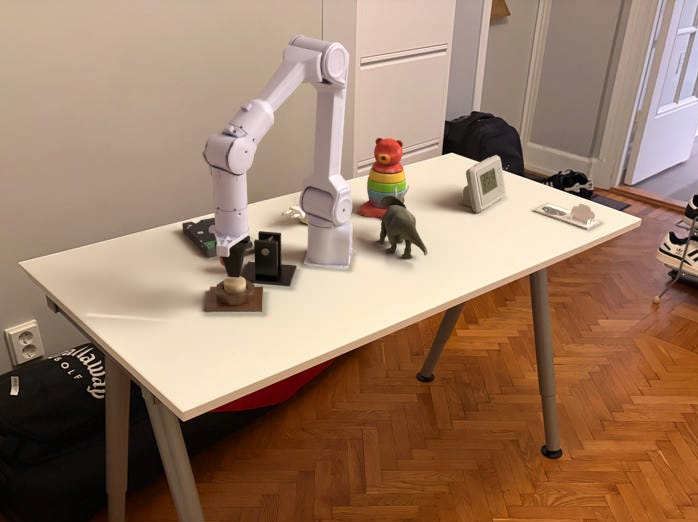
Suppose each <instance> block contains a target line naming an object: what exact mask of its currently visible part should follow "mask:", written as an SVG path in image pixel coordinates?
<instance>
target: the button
mask: <svg viewBox="0 0 698 522" xmlns="http://www.w3.org/2000/svg"><path fill="white" fill-rule="evenodd" d="M223 281H224V290H225V292H229V293H240V292H244V291H245V290H246V280H245V278H243V277H241V276H240V277H239V278H236V277H228V276H227V277H225V278H224V279H223Z"/></svg>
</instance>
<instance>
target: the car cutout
mask: <svg viewBox="0 0 698 522" xmlns="http://www.w3.org/2000/svg"><path fill="white" fill-rule="evenodd" d="M533 212H535V213H538V214H539V215H540V214H541V215H543V216H547V217H550V218H553V219H555V220H558V221H559V222H563V223H566V224H569V225H572V226H574V227H578V228H581V229H584V230H586V231H589V230H590V229H591V228H593V227H595V226H598V225H599V224H601V222H602V221H601V220H599V219H595V216H596V215H595V212H594V211H592V209H591V206H588V205H587V204H583V203H579V204H578V205H577V206H576V205H573V206H572V207H571V210H569V209H567V208H563V207H560V206H557V205H555V204H552V203H549V202H548V203H546V204H543V205H541V206H539V207H537V208H535V209H534V210H533Z"/></svg>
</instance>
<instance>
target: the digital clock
mask: <svg viewBox="0 0 698 522" xmlns="http://www.w3.org/2000/svg"><path fill="white" fill-rule="evenodd" d="M501 159H502V158H501V156H498V154H495V155H492V156H490V157H489V156H488V157H487V158H485V159H483V160H481V161H479V162H478V163H476V164H474V165H472V166H471V167H469V168H468V169H467V170H466V171H465V178H466V183H467V185H466V186H464V187H463V190H462V196H461V198H462V199H461V205H464V206H466V207H469V208H471V209H472V211H473V212H474V213H481V212H482V211H485V210H487V209H488V208H490V207H492V206H493V205H495V204H497V203H498V202H499V200H501V199H502V198H504V197H505V196H506V195H507V189H506V183H505V177H504V171H503V165H502V160H501Z"/></svg>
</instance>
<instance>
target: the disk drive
mask: <svg viewBox="0 0 698 522" xmlns="http://www.w3.org/2000/svg"><path fill="white" fill-rule="evenodd" d="M181 224H182V225H181V226H182V233H183V234H184V235H185V236H186V237H187V238H188V239H189V240H190V241H191V242H192V243H193V244H194V245H195V246H196V247H197V248H198V250H200V251H201V252H202V254H203V255H204V256H205V257H206V258H207V259H210V258H216V257H218V256H217V250H216V249H215V241H216V237H215V234H214V233H210V232H209V227H210V226H211V225H215V217H209V218H203V219H200V220H199V221H197V222H193V221H191V220H190V221H186V222H182V223H181ZM252 247H253V242H252V240H251V239H250V241H249V243H248V245H247V248H246V249H249V248H252Z"/></svg>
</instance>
